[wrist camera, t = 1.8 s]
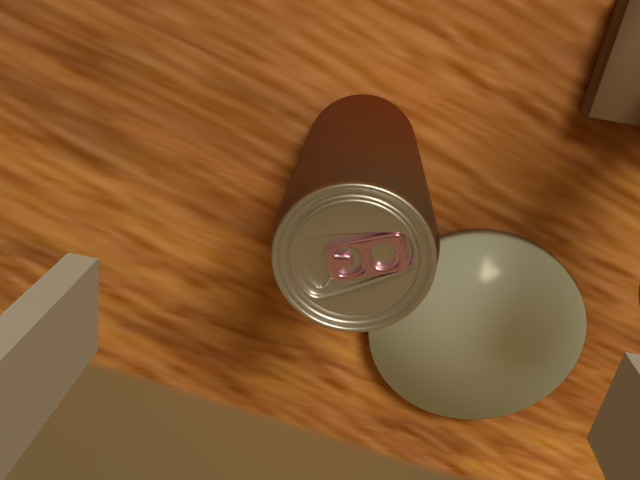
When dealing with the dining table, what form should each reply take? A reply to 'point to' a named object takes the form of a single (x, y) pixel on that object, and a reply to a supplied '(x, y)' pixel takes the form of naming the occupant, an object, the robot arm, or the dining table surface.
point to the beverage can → (356, 220)
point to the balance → (617, 70)
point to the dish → (485, 329)
